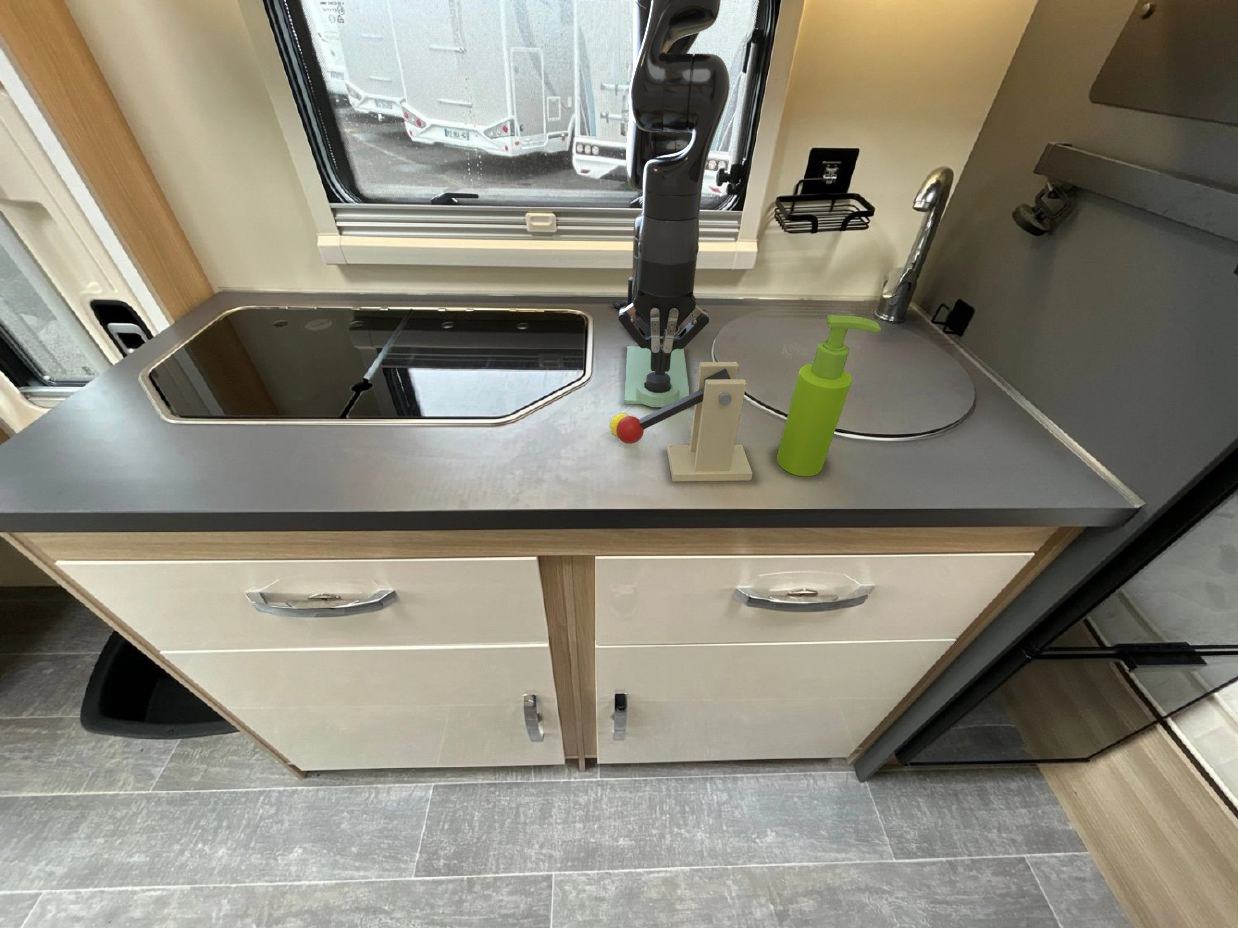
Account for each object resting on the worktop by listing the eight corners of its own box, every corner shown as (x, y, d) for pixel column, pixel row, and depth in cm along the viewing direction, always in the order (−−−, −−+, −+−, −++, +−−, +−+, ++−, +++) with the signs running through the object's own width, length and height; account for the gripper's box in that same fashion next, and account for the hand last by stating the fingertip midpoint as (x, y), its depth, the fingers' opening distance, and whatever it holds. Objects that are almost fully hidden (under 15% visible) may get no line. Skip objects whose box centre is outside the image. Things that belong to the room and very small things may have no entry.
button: (645, 381, 81) (646, 371, 80) (669, 381, 81) (670, 371, 80) (645, 393, 78) (646, 383, 77) (670, 394, 78) (671, 383, 77)
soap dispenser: (833, 480, 66) (886, 333, 54) (777, 472, 67) (816, 326, 55) (828, 452, 71) (876, 311, 58) (776, 446, 72) (812, 305, 59)
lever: (625, 453, 64) (611, 434, 62) (624, 437, 67) (610, 418, 65) (740, 399, 60) (729, 377, 58) (733, 384, 63) (723, 362, 61)
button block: (627, 349, 94) (627, 336, 92) (683, 351, 93) (684, 338, 92) (623, 410, 78) (624, 395, 77) (690, 412, 78) (692, 398, 77)
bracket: (672, 481, 66) (682, 386, 57) (667, 452, 70) (675, 360, 62) (751, 480, 66) (772, 385, 57) (740, 451, 71) (759, 359, 62)
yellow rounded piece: (613, 445, 71) (606, 421, 70) (616, 431, 77) (610, 408, 76) (637, 439, 71) (630, 415, 70) (639, 425, 76) (632, 402, 75)
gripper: (716, 244, 70) (702, 362, 80) (617, 242, 70) (615, 359, 81) (723, 262, 64) (706, 387, 75) (614, 260, 64) (613, 384, 75)
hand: (659, 372), depth 78 cm, fingers closed
